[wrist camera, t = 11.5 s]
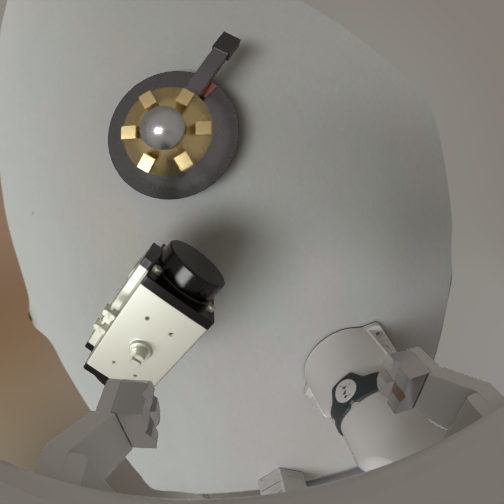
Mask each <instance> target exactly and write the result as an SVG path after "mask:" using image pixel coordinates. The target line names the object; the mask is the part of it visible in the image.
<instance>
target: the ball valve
mask: <svg viewBox="0 0 504 504" xmlns="http://www.w3.org/2000/svg"><path fill="white" fill-rule="evenodd" d="M126 280H127V281H126V282H125V284H124V285H123V287H122V288H121V290H120V291H119V293H118V294H117V296H116V297H115V299H114V300H113V302H112V303H111V305H110V304H107V306H106V307H105V309H104V310H103V312H102V314H103V317H102V318H101V319H100V318H98V320H97V321H96V323H95V324H94V326H93V328H94V329H95V330H94V332H93V333H92V335H91V337H90V338H89V340H88V342H87V344H86V345H85V347H86V348H88V349H89V350H91V353H90V355H89V357H88V359H87V361H86V363H85V365H84V369H86V370H87V371H89V372H90V373H92V374H93V375H95V376H96V377H97V379H98V380H99V381H100V382H101V383H102V384H104V385H105V384H106V382H107V380H108V379H110V378H111V379H122V380H123V379H128V380H146V381H152V382H153V386H154V387H155V386H156V385H157V384H158V382H159V381H160V380H161V379H162V378H163V377H164V376H165V375H166V374H167V373H168V372H169V371H170V370H171V369H172V368H173V367H174V365H175V364H176V363H177V362H178V361H179V360H180V359H181V358H182V357H183V356H184V355H185V354H186V353H187V352H188V350H189V349H190V348H191V347H192V346H193V345H194V344H195V343H196V342H197V341H198V340H199V339H200V338H201V336H202V335H203V334H204V333H205V332H206V331H207V330H208V329H209V328H210V327H211V326H212V325H213V323H214V310H215V306H214V299H213V298H214V297H215V296H216V294H217V293H218V292H219V291H220V290H221V289H222V288H223V286H224V284H225V282H224V278H223V276H222V275H221V273H220V272H219V270H218V269H217V268H216V267H215V265H214V264H213V263H212V262H211V261H210V260H209V259H207V258H206V257H205V256H204V255H203V254H202V253H200V252H199V251H198V250H196V249H195V248H193V247H192V246H190V245H188V244H186V243H184V242H182V241H179V240H172V241H171V242H170V243H169V245H168V246H166V245H165V244H163V245H162V246H161V247H159V246H158V245H157V244H155V243H153V244H152V246H151V247H150V249H149V250H148V251H147V253H146V254H145V255H144V257H143V258H141V259H140V260H139V261H138V263H137V264H136V266H135V267H134V268H133V270H132V271H131V273H130V274H129V276H128V277H127V279H126Z"/></svg>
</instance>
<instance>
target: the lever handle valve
mask: <svg viewBox="0 0 504 504" xmlns="http://www.w3.org/2000/svg"><path fill="white" fill-rule="evenodd" d="M239 44H240V39H238V38H236V37H234V36H232V35H230V34H228V33H226V32H223V33H222V35H221V36H220V37H219V38H218V40H217V41H216V42H215V44H214V45H213V46H212V51H211V52H210V54H209V55H208V56H207V58H206V59H205V60H204V62H203V63H202V64H201V66H200V67H199V69H198V70H197V72H196V73H195V74H194V76H193V77H192V79H191V80H190V82H189V83H188V85H187V86H186V88H183V89H182V88H177V87H166V88H160V89H156V90H154V91H150V90H149V91H148V92H146V93H144V94H143V95H141V96H140V97H139V100H138V101H137V102H136V103H135V104H134V105H133V107H132V108H131V110H130V111H129V113H128V115H127V117H126V120H125V122H124V126H123V127H121V140H123V143H124V147H125V150H126V152H127V154H128V156H129V158H130V159H131V161H132V162H133V163H134V164H135V165H136V166H137V167H138V168H140V169H142V170H143V171H145V172H147V173H150V174H153V175H158V176H171V175H176V174H180V173H182V172H185V171H187V170H189V169H191V168H193V167H194V166H195V165H197V164H198V163H199V162H200V161H201V160H202V159H203V158H204V156H205V155H206V153H207V152H208V150H209V148H210V145H211V142H212V138H213V121H212V117H211V114H210V111H209V109H208V107H207V106H206V104H205V103H204V102H203V101H202V99H201V98H200V97H201V96H202V94H203V93H204V91H205V90H206V88H207V87H208V85H209V84H210V82H211V81H212V79H213V78H214V77H215V75H216V74H217V72H218V71H219V69H220V68H221V67H222V65H223V64H224V63H225V61H226V60H229V59H230V57H231V56H232V55H233V53H234V52H235V51H236V49H237V48H238V47H239ZM157 106H170V107H172V108H174V109H176V110H177V111H178V112H179V113H180V114H181V116H182V117H183V119H184V120H185V123H186V127H187V131H186V135H185V138H184V140H183V141H182V142H181V144H180V145H178V146H177V147H175V148H173V149H171V150H159V149H154V148H151V147H149V146H148V145H146V144H145V143H144V141H143V140H142V138H141V135H140V123H141V120H142V118H143V117H144V115H145V114H146V113H147V112H148V111H149V110H151V109H152V108H155V107H157Z"/></svg>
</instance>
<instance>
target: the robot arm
mask: <svg viewBox="0 0 504 504" xmlns="http://www.w3.org/2000/svg"><path fill="white" fill-rule="evenodd" d="M377 332H378V333H377ZM376 333H377V334H376ZM305 377H306V381H307V384H306V387H305V394H306V396H307V397H309V398H314V399H315V401H316V403H317V404H318V406H319V408H320V410H321V412H322V413H323V415H324V416H325V417H329V418H332V420H333V423H334V425H335V427H336V429H337V430H338V432H339V433H340V434H341V435H342V436H344V438H345V440H346V442H347V444H348V446H349V449H350V451H351V453H352V455H353V457H354V459H355V461H356V464H357V466H358V467H359V468H360V469H362V470H363V471H365V472H364V473H361V474H358V475H354V476H351V477H348V478H344V479H341V480H337V481H333V482H329V483H325V484H321V485H317V486H312V487H308V488H303V489H298V490H292V491H287V492H281V493H274V494H267V495H259V496H250V497H238V498H222V499H172V498H155V497H145V496H136V495H128V494H120V493H115V492H114V491H113V490H112V489H111V487H110V486H109V485H108V484H107V483H106V481H105V479H106V478H107V477H108V475H109V474H110V473H111V472H112V471H113V470H114V469H115V468H116V467H117V465H118V464H119V463H120V462H121V461H122V460H123V459H124V458H125V456H126V455H127V454H128V453H129V452H130V451H131V450H132V447H136V448H157V439H158V431H157V429H156V426H157V425H158V424H159V423H160V407H159V402H158V399H157V398H156V397H155V396H154V390H155V389H154V386H153V382H152V381H146V380H128V379H123V380H122V379H111V378H110V379H108V380H107V382H106V384H105V387H104V390H103V392H102V395H101V398H100V400H99V403H98V406H97V409H96V411H91V412H90V413H88V414H87V415H86V416H84V417H83V418H82V419H80V420H79V421H77V422H76V423H74V424H73V425H72V426H70V427H69V428H68V429H66V430H65V431H64V432H62V433H61V434H60V435H58V436H56V437H55V438H53V439H52V440H51V441H50V442H48V443H47V444H45V446H44V449H43V451H42V454H41V456H40V459H39V461H38V464H37V467H36V469H35V472H32V471H29V470H26V469H24V468H21V467H18V466H16V465H13V464H11V463H9V462H6V461H4V460H2V459H0V504H504V397H503V396H502V395H501V394H500V393H499V392H498V391H497V390H496V389H495V388H494V387H493V386H492V385H491V384H490V383H488V382H484V381H482V380H478V379H475V378H473V377H469V376H467V375H464V374H461V373H458V372H455V371H452V370H449V369H447V368H442V369H441V368H440V367H439V366H438V365H437V364H436V362H434V360H433V359H432V358H431V357H430V356H429V355H428V354H427V353H426V352H425V351H424V350H423V349H422V348H421V347H418V346H416V347H413V348H409V349H407V350H403V351H399V352H397V351H396V349H395V348H394V346H393V344H392V343H391V341H390V340H389V338H388V337H387V335H386V334H385V332H384V330H383V329H382V327H381V326H380V324H379V323H377V322H374V323H371V324H369V325H366V326H364V327H361V328H350V329H345V330H341V331H339V332H336V333H334V334H332V335H330V336H328V337H327V338H325V339H324V340H323V341H321V342H320V343H319V344H318V345H317V346H316V347H315V348H314V349H313V351H312V352H311V354H310V355H309V357H308V359H307V361H306V364H305ZM427 418H428V419H430V420H432V421H434V422H435V423H437V424H439V425H441V426H442V427H444V428H446V429H448V430H444V429H442V428H440V427H437V426H436V425H434V424H433V423H431V422H430V421H429V420H428V419H427Z"/></svg>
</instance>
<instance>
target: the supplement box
mask: <svg viewBox="0 0 504 504" xmlns="http://www.w3.org/2000/svg"><path fill="white" fill-rule="evenodd" d="M258 482H259V488H260V493H261V495H267V494H274V493H281V492H287V491H292V490H298V489H303V488H307V486H306V483H305V479H304V476H303V473H302V472H298V471H293V470H288V469H284V468H278V469H276V470H275V471H273V472H272V473H270V474H268V475H267V476H265V477H263V478H262V479H260V480H258Z"/></svg>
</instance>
